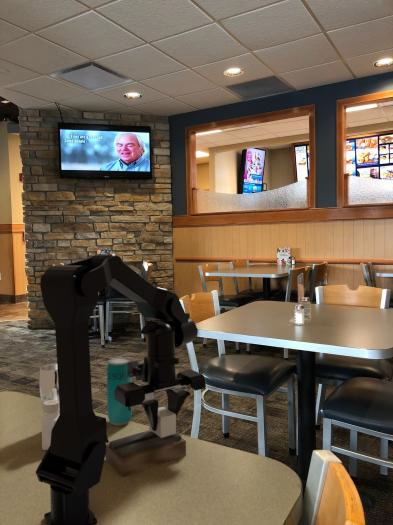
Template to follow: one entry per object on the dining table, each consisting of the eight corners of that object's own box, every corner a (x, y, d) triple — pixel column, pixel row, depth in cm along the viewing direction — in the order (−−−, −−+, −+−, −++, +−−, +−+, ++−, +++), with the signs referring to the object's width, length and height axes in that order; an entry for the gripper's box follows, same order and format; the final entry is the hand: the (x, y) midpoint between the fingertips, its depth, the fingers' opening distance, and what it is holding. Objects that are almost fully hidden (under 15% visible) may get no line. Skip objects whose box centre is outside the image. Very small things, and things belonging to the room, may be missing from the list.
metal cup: (34, 433, 98) (32, 368, 98) (56, 422, 104) (55, 361, 104) (56, 440, 95) (54, 372, 94) (78, 428, 101) (77, 364, 100)
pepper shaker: (42, 443, 93) (41, 400, 93) (62, 440, 95) (61, 398, 94) (42, 451, 90) (40, 406, 89) (62, 448, 91) (61, 404, 90)
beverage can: (127, 427, 101) (126, 364, 100) (104, 426, 102) (102, 363, 101) (135, 417, 107) (134, 357, 106) (113, 416, 108) (112, 357, 107)
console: (165, 440, 94) (165, 423, 94) (186, 455, 88) (185, 436, 87) (105, 459, 86) (105, 440, 86) (122, 476, 80) (122, 456, 79)
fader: (163, 429, 92) (163, 406, 92) (176, 438, 88) (175, 414, 88) (149, 433, 90) (148, 410, 90) (161, 442, 86) (160, 418, 86)
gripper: (178, 339, 100) (179, 405, 101) (102, 351, 90) (104, 425, 90) (207, 349, 91) (207, 421, 92) (125, 364, 80) (127, 446, 81)
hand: (162, 427), depth 89 cm, fingers closed on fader, 3 cm apart
